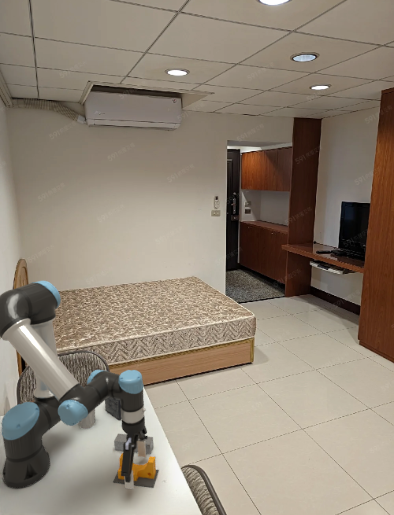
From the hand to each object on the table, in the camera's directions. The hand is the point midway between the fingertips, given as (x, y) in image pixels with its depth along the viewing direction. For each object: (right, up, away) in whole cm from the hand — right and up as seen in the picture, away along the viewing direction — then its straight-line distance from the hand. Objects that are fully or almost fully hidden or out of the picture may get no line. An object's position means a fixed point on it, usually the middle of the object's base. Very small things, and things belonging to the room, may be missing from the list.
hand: (136, 471), depth 120 cm
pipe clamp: (0, -2, 0) cm, 2 cm away
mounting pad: (0, -2, 0) cm, 2 cm away
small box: (-14, +5, +34) cm, 37 cm away
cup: (-25, +3, +27) cm, 37 cm away
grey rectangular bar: (-3, +1, +13) cm, 14 cm away
